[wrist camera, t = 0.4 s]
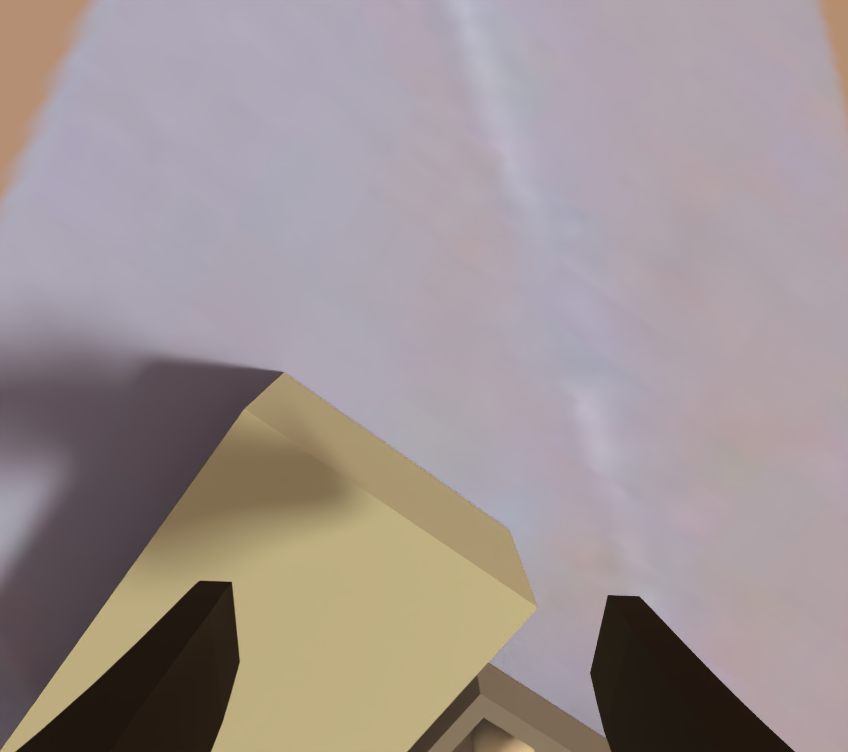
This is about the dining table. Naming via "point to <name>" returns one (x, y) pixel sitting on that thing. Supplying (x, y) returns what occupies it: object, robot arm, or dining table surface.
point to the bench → (318, 585)
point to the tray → (506, 721)
